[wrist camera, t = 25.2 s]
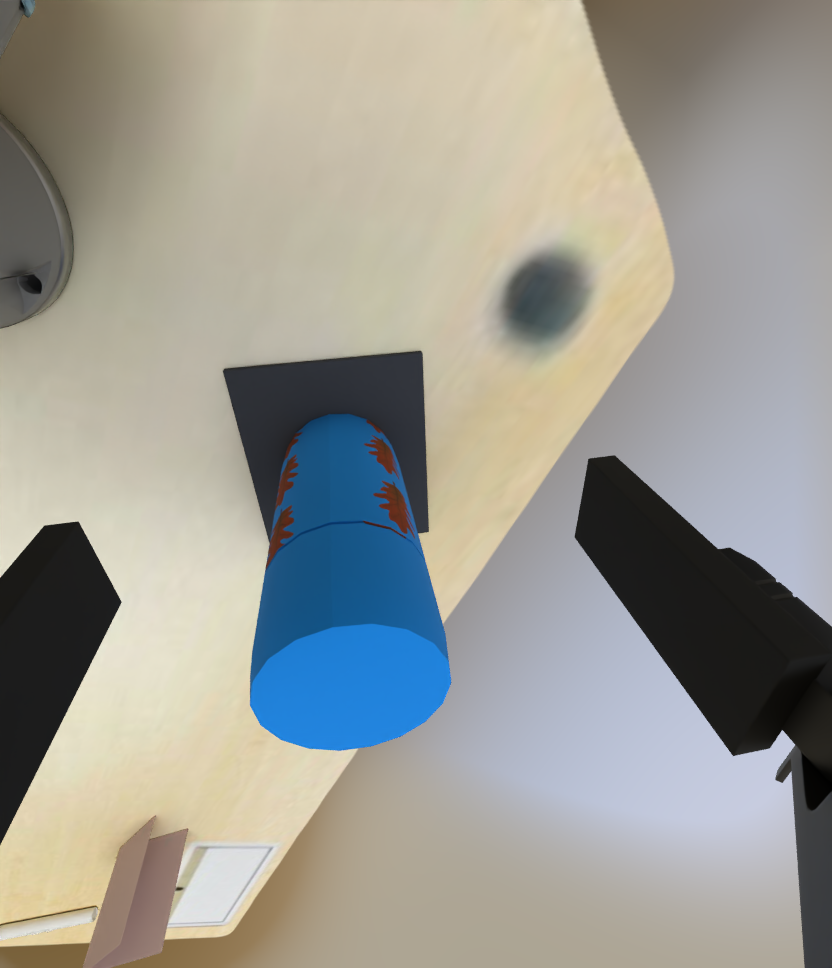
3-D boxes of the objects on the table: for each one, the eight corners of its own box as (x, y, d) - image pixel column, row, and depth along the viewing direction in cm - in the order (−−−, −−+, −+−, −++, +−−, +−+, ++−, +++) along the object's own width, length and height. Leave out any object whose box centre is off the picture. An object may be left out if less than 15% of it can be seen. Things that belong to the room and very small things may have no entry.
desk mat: (272, 549, 50) (272, 553, 50) (224, 368, 40) (222, 371, 39) (427, 528, 52) (428, 532, 52) (421, 350, 42) (422, 352, 41)
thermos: (418, 455, 46) (494, 670, 25) (349, 525, 49) (367, 769, 28) (330, 388, 41) (335, 587, 20) (260, 471, 44) (202, 718, 23)
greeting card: (123, 850, 77) (83, 977, 65) (97, 832, 73) (49, 964, 61) (190, 830, 77) (164, 954, 65) (168, 811, 73) (136, 939, 61)
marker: (-9, 930, 84) (-17, 947, 82) (-15, 926, 83) (-23, 944, 81) (99, 908, 87) (93, 925, 85) (95, 904, 85) (89, 921, 83)
